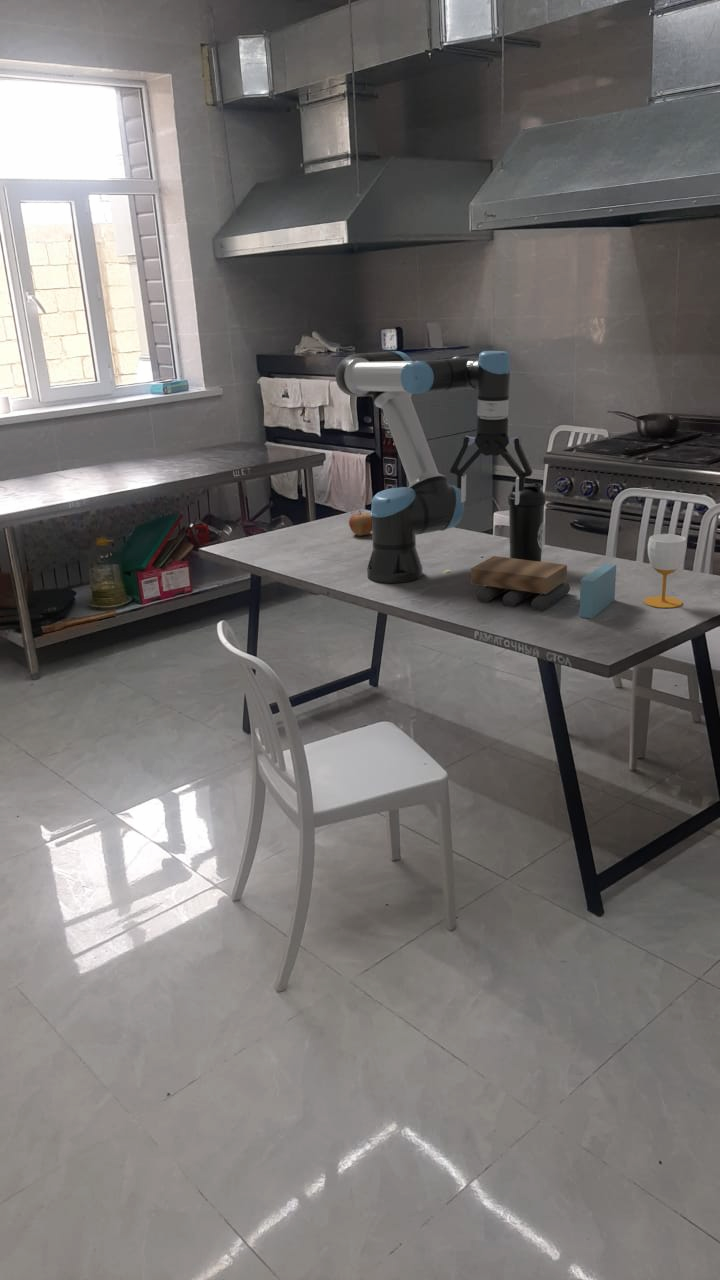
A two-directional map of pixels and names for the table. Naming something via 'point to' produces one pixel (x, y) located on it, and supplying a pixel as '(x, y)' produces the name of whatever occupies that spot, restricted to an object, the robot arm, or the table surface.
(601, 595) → the block
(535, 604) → the cylinder
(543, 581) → the slab
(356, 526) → the apple
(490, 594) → the roller rear
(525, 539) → the water bottle
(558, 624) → the table surface
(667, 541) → the cup
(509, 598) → the roller mid
